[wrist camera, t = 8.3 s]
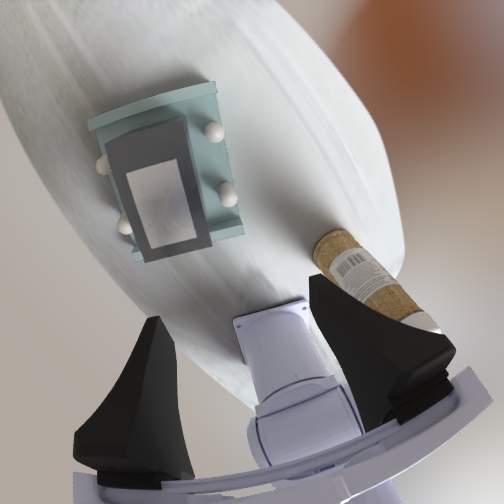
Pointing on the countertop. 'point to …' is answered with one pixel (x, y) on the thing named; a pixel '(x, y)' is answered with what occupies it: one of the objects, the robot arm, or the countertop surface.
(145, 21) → the countertop surface
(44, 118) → the countertop surface
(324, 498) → the robot arm
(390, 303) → the sprinkles bottle
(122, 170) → the dark grey block
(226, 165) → the tray
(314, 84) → the countertop surface
